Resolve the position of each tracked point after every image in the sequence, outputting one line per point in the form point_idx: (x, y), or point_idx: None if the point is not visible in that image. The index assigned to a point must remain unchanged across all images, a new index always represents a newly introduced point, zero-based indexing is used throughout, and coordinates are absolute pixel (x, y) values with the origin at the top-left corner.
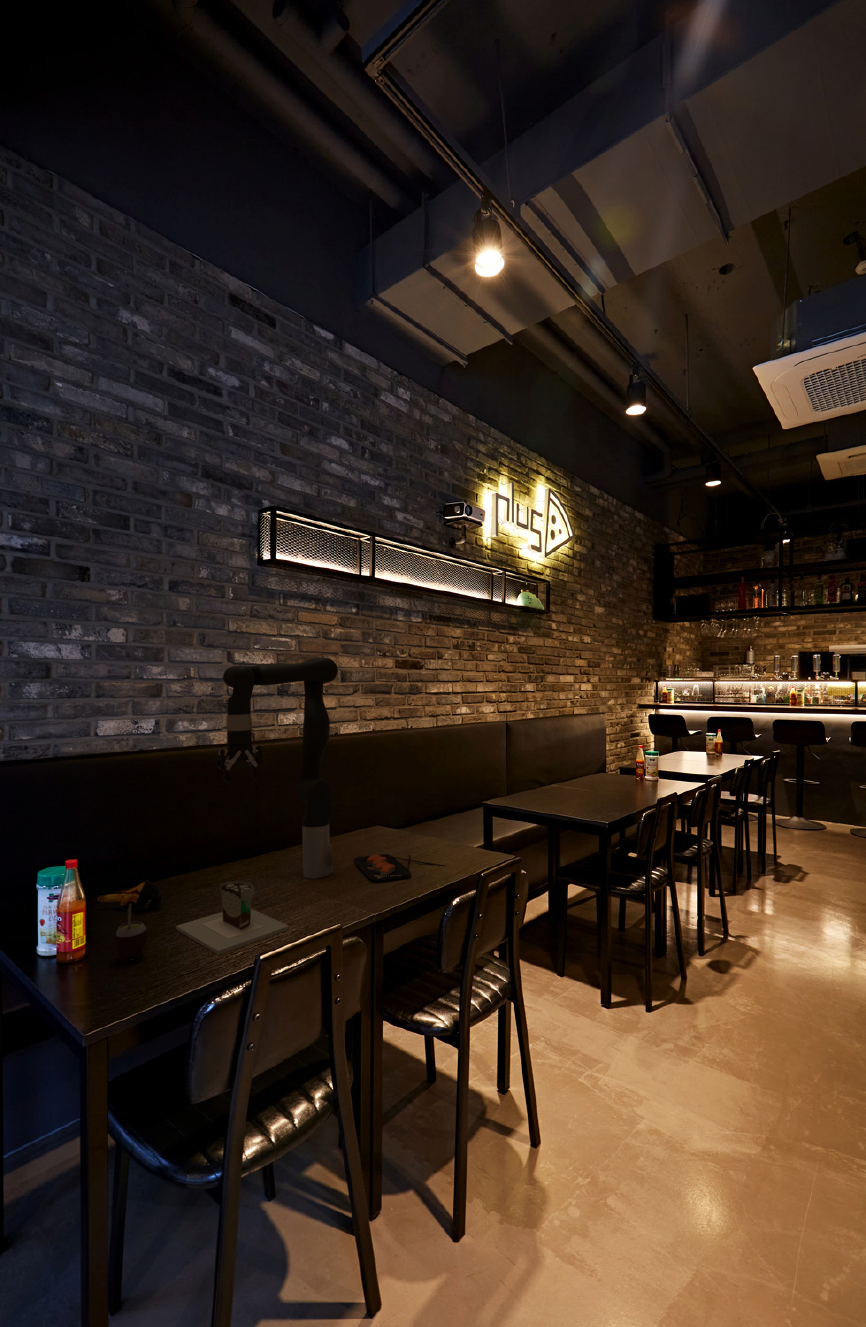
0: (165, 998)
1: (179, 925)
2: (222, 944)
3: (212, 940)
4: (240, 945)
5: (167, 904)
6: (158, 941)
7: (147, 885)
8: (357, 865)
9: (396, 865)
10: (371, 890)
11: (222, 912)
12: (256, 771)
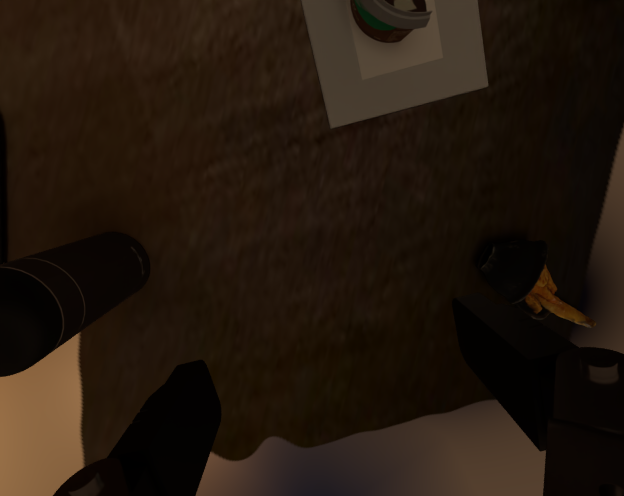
0: None
1: (481, 84)
2: None
3: None
4: None
5: (458, 263)
6: (530, 40)
7: (534, 262)
8: (1, 254)
9: None
10: (20, 59)
11: (406, 35)
12: (129, 428)
